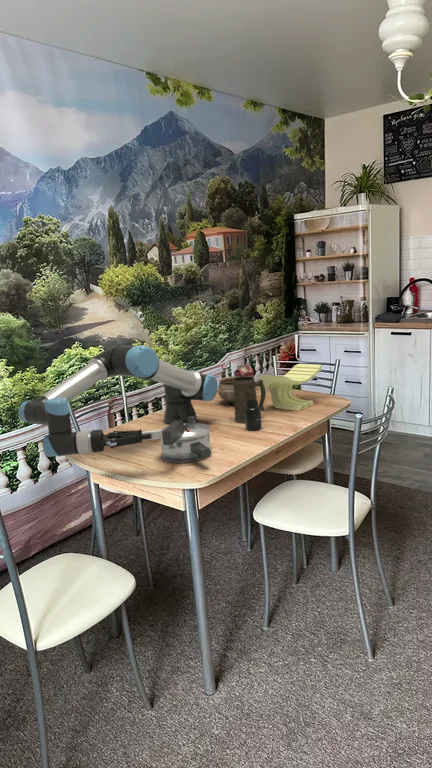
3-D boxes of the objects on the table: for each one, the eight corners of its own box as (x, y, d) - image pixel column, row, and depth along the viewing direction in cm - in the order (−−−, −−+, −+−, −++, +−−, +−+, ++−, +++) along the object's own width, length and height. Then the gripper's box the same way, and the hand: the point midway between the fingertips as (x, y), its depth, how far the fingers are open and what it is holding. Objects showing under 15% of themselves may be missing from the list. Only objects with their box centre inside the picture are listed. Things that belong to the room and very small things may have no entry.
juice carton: (255, 409, 260) (252, 364, 256) (244, 411, 257) (240, 366, 253) (248, 406, 266) (245, 362, 262) (236, 409, 263) (233, 364, 259)
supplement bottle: (260, 430, 224) (259, 402, 221) (244, 431, 225) (242, 403, 223) (262, 426, 230) (261, 398, 228) (247, 426, 232) (245, 399, 229)
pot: (152, 451, 208) (150, 431, 207) (196, 442, 216) (194, 422, 214) (182, 474, 181) (179, 452, 179) (231, 463, 188) (229, 441, 187)
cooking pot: (230, 396, 292) (228, 374, 290) (263, 397, 284) (261, 374, 281) (210, 407, 270) (207, 384, 268) (244, 409, 262) (243, 384, 260)
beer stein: (240, 424, 235) (240, 380, 232) (229, 420, 244) (228, 377, 241) (270, 420, 242) (269, 377, 238) (257, 416, 251) (257, 374, 248)
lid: (171, 424, 213) (169, 409, 211) (216, 424, 208) (215, 408, 206) (142, 449, 185) (140, 431, 184) (194, 449, 180) (192, 431, 179)
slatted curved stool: (295, 397, 277) (293, 363, 274) (322, 400, 267) (321, 364, 263) (260, 411, 256) (257, 374, 252) (288, 414, 245) (285, 376, 242)
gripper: (95, 446, 190) (162, 439, 191) (90, 458, 177) (162, 450, 179) (92, 425, 188) (160, 418, 190) (87, 436, 175) (160, 428, 177)
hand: (161, 434), depth 184 cm, fingers closed
